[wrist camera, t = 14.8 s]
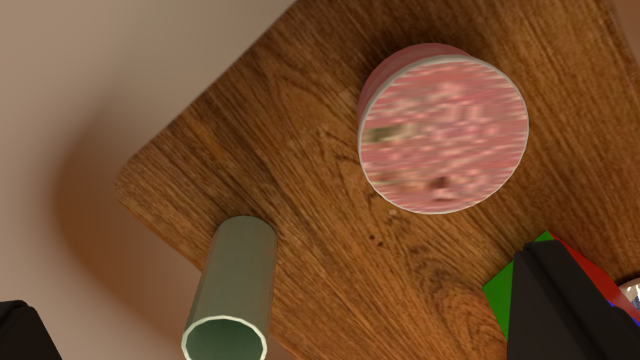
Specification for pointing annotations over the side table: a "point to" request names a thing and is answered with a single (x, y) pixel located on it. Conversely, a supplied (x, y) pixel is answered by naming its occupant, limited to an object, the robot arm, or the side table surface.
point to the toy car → (632, 292)
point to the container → (439, 129)
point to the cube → (502, 282)
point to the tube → (234, 294)
